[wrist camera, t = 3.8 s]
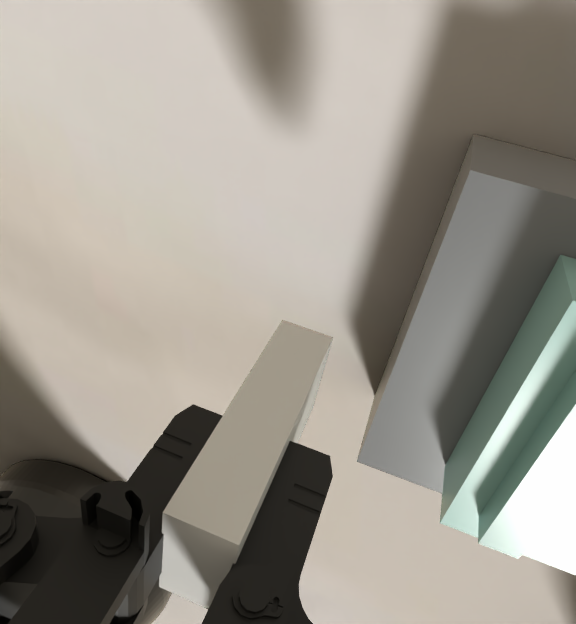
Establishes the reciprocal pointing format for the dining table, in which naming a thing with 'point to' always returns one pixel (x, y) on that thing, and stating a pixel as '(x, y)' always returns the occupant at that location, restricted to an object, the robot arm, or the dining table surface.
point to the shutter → (524, 440)
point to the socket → (469, 303)
